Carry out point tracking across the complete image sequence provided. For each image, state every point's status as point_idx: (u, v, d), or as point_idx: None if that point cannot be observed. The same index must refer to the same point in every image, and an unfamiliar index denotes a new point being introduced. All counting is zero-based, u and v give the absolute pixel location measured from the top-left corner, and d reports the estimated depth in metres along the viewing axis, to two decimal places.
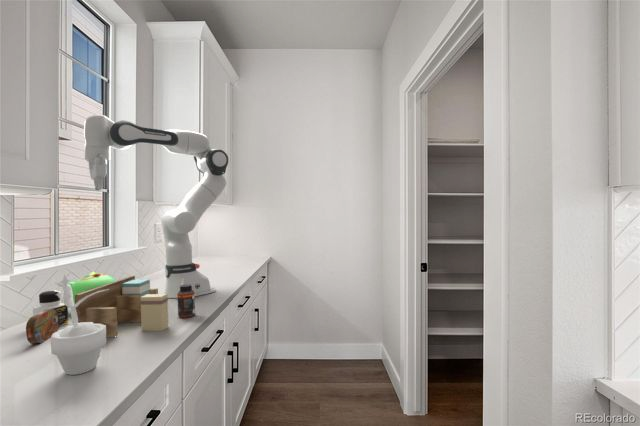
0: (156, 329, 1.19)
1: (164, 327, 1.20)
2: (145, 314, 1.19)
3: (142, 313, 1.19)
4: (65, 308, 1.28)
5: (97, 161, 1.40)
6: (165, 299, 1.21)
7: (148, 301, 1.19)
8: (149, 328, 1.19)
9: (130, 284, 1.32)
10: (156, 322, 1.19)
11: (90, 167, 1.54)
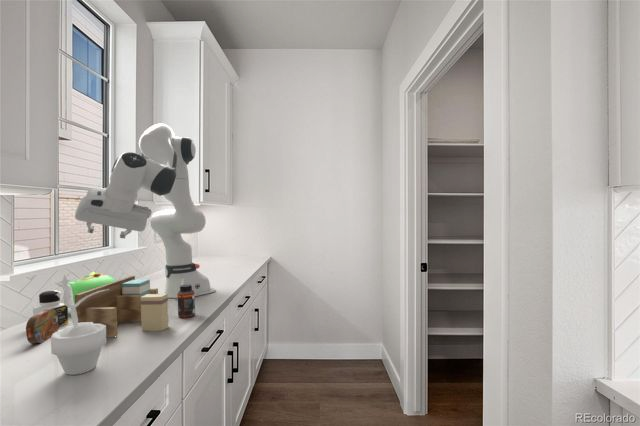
0: (156, 329, 1.19)
1: (164, 327, 1.20)
2: (145, 314, 1.19)
3: (142, 313, 1.19)
4: (65, 308, 1.28)
5: (147, 217, 1.22)
6: (165, 299, 1.21)
7: (148, 301, 1.19)
8: (149, 328, 1.19)
9: (130, 284, 1.32)
10: (156, 322, 1.19)
11: (87, 209, 1.11)
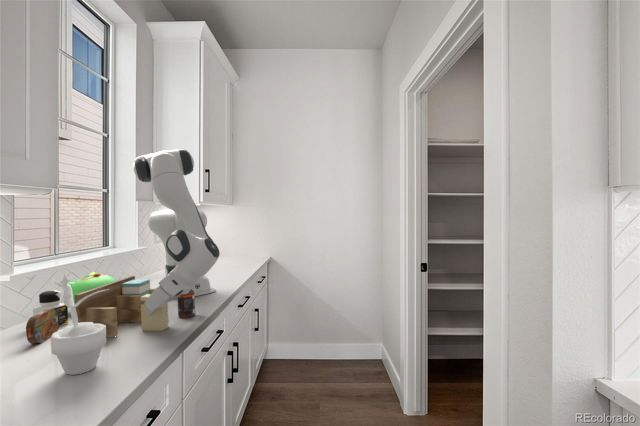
0: (156, 328, 1.19)
1: (164, 327, 1.20)
2: (145, 314, 1.19)
3: (142, 313, 1.19)
4: (65, 308, 1.28)
5: None
6: None
7: None
8: (149, 328, 1.19)
9: (130, 284, 1.32)
10: (156, 322, 1.19)
11: None
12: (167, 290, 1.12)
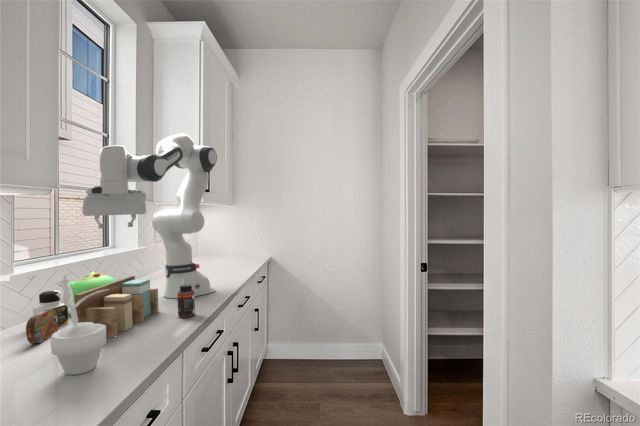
0: (119, 328, 1.20)
1: (127, 327, 1.21)
2: None
3: None
4: (65, 308, 1.28)
5: (144, 198, 1.38)
6: (129, 299, 1.22)
7: (111, 301, 1.20)
8: None
9: (130, 284, 1.32)
10: (119, 321, 1.20)
11: (90, 201, 1.27)
12: (86, 192, 1.27)
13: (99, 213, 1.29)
